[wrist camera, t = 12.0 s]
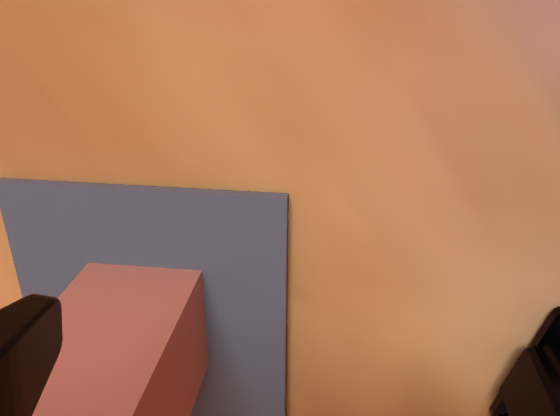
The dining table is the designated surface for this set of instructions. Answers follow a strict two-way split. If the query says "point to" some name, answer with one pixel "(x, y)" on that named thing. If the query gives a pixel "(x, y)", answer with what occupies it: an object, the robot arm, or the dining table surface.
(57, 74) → the dining table surface
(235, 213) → the slate mat
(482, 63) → the dining table surface
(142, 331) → the red block
